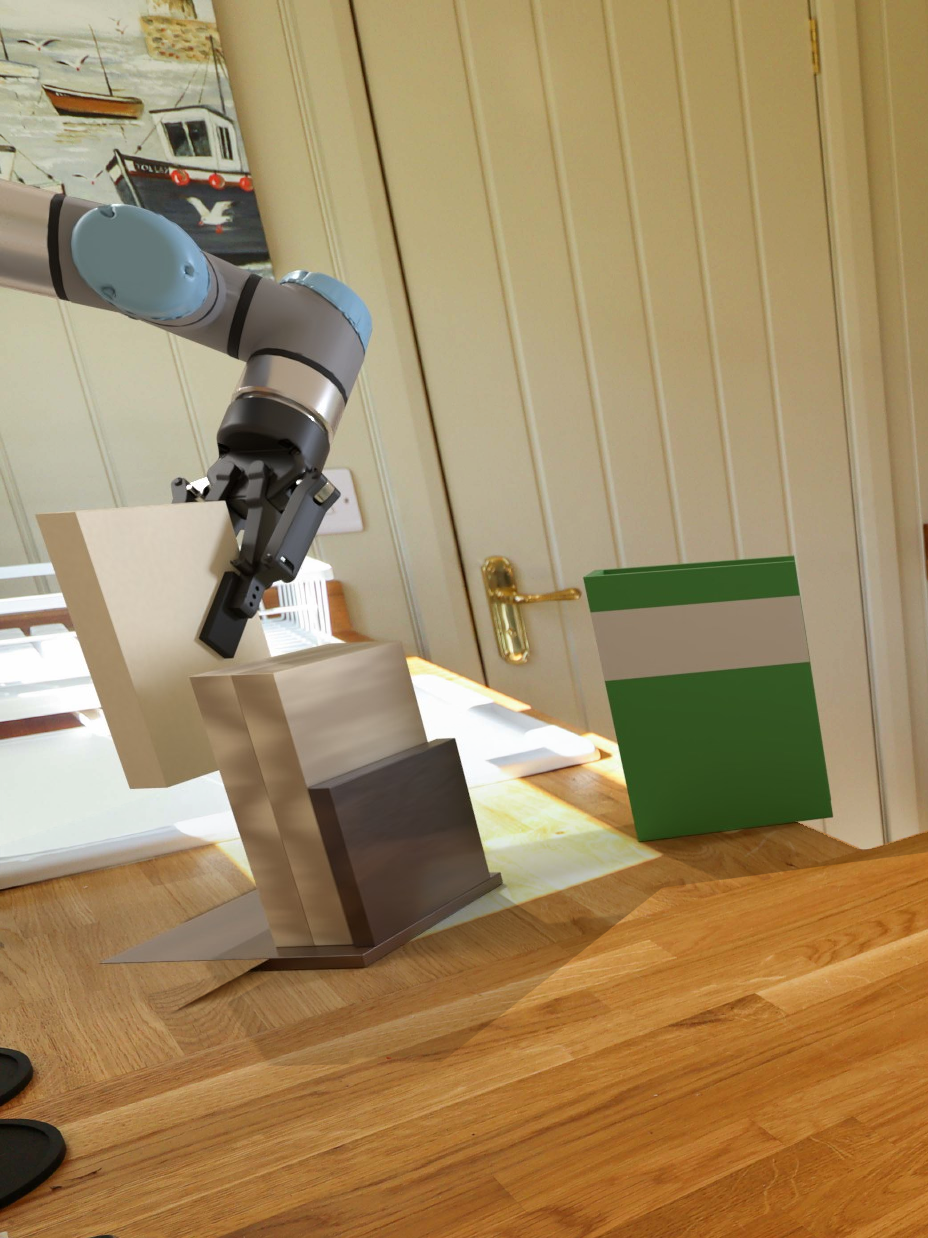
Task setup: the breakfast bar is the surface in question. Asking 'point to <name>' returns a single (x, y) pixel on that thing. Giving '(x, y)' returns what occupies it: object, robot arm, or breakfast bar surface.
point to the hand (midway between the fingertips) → (193, 648)
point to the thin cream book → (149, 624)
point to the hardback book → (711, 694)
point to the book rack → (331, 813)
